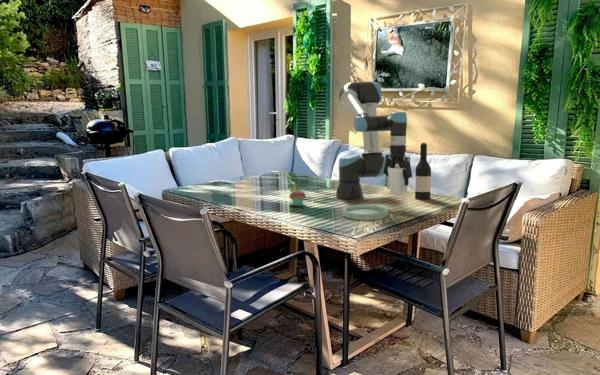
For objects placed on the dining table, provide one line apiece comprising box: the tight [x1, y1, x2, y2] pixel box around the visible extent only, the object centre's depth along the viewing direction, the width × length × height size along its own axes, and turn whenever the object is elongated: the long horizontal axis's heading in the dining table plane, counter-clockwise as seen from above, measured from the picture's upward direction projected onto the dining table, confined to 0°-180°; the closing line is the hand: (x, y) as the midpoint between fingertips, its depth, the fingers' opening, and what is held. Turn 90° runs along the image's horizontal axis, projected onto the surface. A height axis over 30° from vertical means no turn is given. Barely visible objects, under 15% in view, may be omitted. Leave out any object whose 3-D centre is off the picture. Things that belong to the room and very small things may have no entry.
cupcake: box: [289, 182, 307, 206], centre depth 235 cm, size 9×8×12 cm
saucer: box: [342, 204, 389, 221], centre depth 209 cm, size 20×20×2 cm
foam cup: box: [388, 165, 405, 196], centre depth 219 cm, size 10×9×13 cm
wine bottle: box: [414, 142, 432, 201], centre depth 242 cm, size 8×8×30 cm
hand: (397, 190), depth 220 cm, fingers closed on foam cup, 9 cm apart
